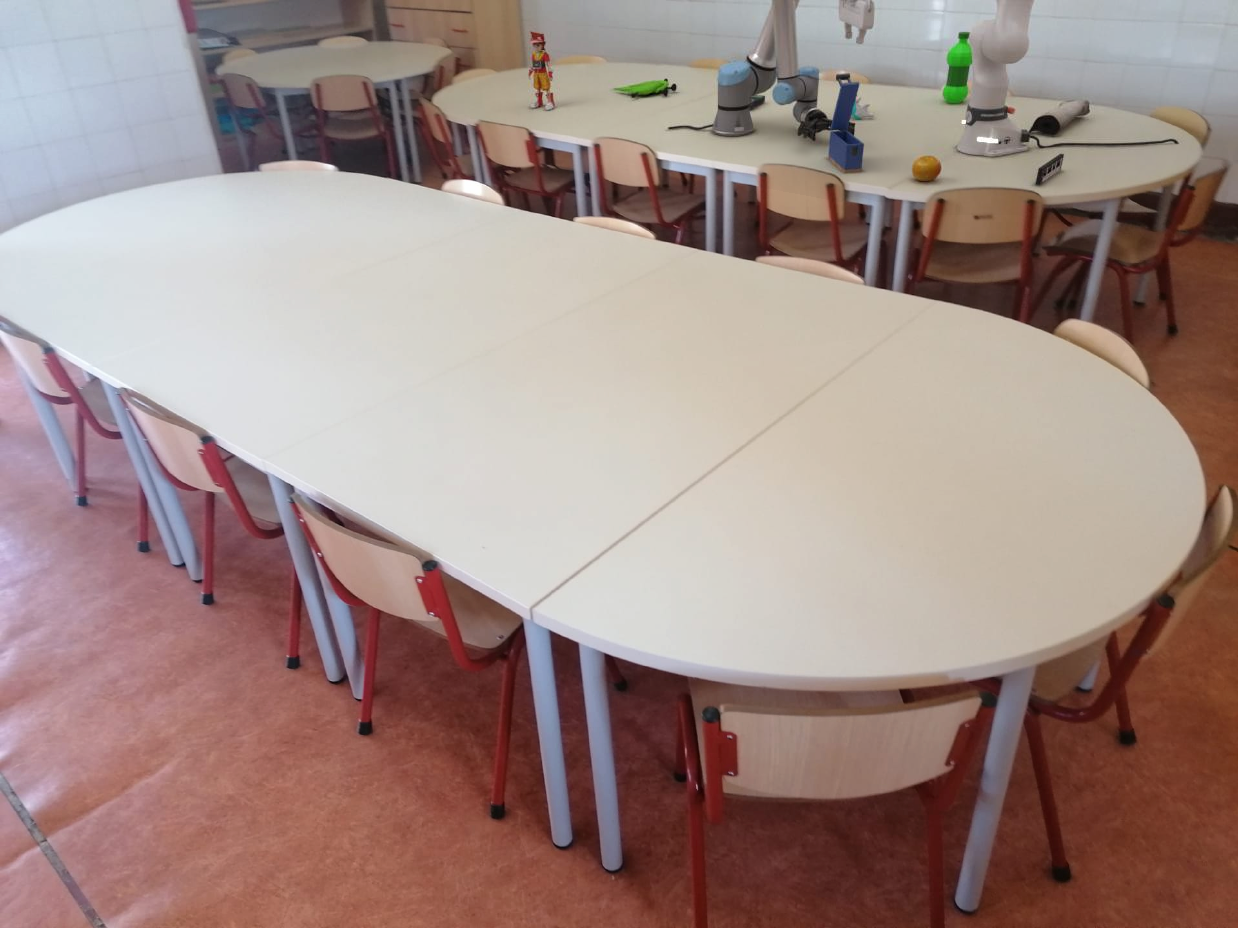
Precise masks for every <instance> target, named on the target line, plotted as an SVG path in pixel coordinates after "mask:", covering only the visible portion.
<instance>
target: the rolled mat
mask: <svg viewBox="0 0 1238 928" xmlns="http://www.w3.org/2000/svg"><path fill="white" fill-rule="evenodd" d="M1090 113H1091V110H1090V101H1089V100H1087V99H1073V100H1066V101H1063V102H1060V103H1059V105H1058V106H1057V107H1055V108H1052V109H1049V111H1047V112H1045V113H1043V114H1041V115H1040V116H1038V117H1036V119H1035V120H1034V121H1033V123H1032V125H1031V127H1030V129H1029V130H1028V132H1029V133H1030V134H1032V133H1033V132H1040V133H1041V134H1042V135H1045V136H1051V137H1054V136H1056V135H1058V134H1059V133H1061V131H1062V130H1063V129H1064V128H1065V127H1066V126H1067V125H1068V124H1069V123H1071V122H1072V121H1073V120H1075V119H1076V118H1077V117H1082V116H1083V117H1084V116H1086V115H1089V114H1090Z"/></svg>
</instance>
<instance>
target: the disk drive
mask: <svg viewBox="0 0 1238 928" xmlns="http://www.w3.org/2000/svg"><path fill="white" fill-rule="evenodd" d="M765 102H766V95H762V94H757V95H754V96H751V97H749V111H750V110H752V109H755V108H757V107H758V106H760V105H762V104H763V103H765Z"/></svg>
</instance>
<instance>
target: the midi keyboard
mask: <svg viewBox="0 0 1238 928" xmlns="http://www.w3.org/2000/svg"><path fill="white" fill-rule="evenodd" d="M1064 157H1065V153H1059V154H1058V155H1056V156H1055V157H1052V159H1051V160H1049V161H1047V162H1045V164H1042V165H1041V166H1039V167H1038V169H1037V175H1036V179H1035V186H1040V185H1042V183H1044V182H1045V181H1047V180H1048V179H1049V178H1051V177H1052V176H1054V175H1055V174H1056V173H1058V172H1060V171H1061V170H1062V165H1063V161H1064Z"/></svg>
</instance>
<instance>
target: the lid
mask: <svg viewBox="0 0 1238 928" xmlns="http://www.w3.org/2000/svg"><path fill="white" fill-rule="evenodd" d="M835 81H837V82H838V85H839V87H840V88H839V93H838V96H837V100H836V104H835V107H834V112H833V116H832V119H831V120H832V124H831V128H830V127H829V128H830V129H831V131H830V132H833V131H839V130H845V129H848V125H849V122H851V117H852V110H853V107H854V103H855V99H857V97H858V92H859V91H858V90H859V87H860V82H859V81H853V82H852V80H851V73H849V72H847V73H837V74H835ZM842 81H847V82H842ZM856 96H857V97H856Z"/></svg>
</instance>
